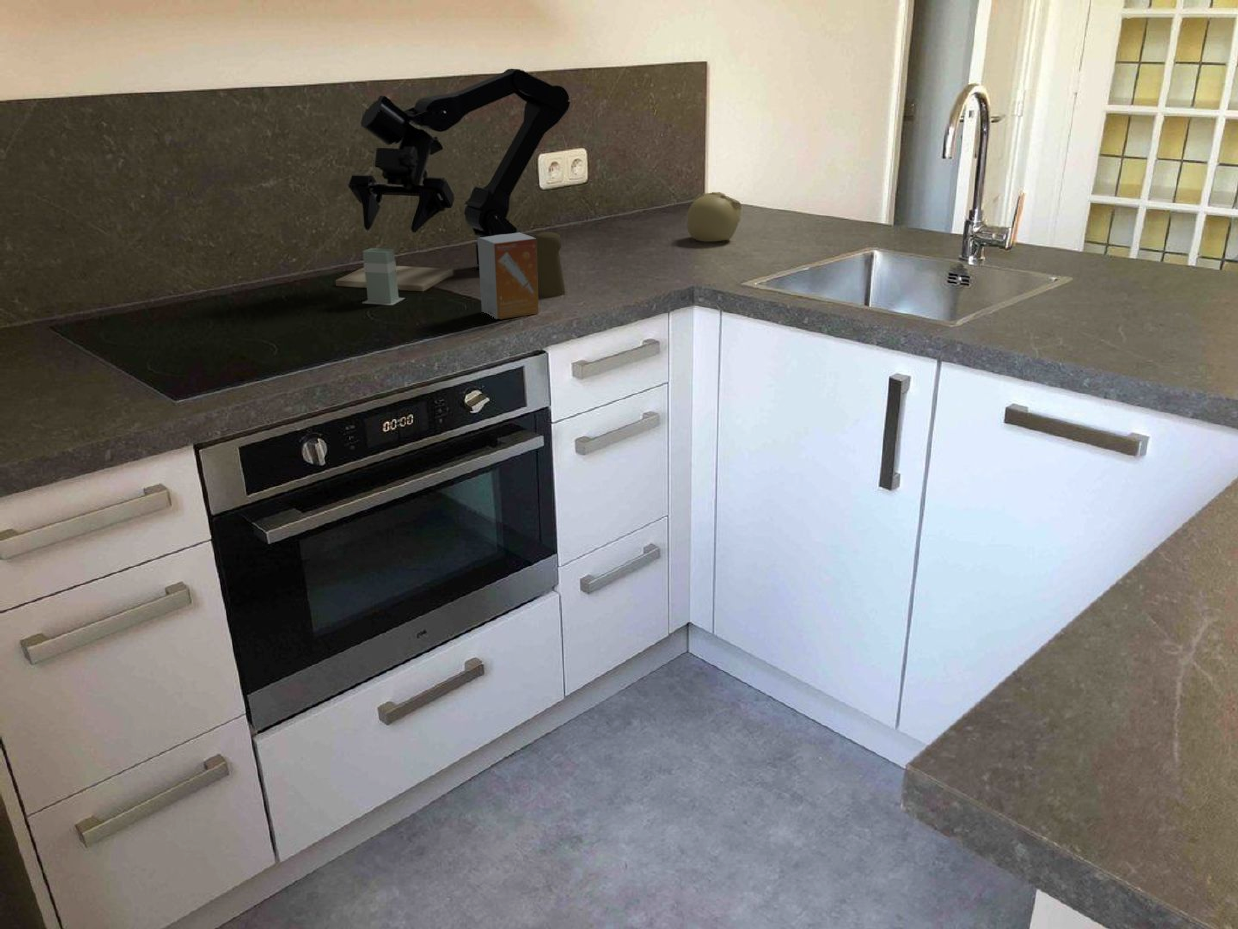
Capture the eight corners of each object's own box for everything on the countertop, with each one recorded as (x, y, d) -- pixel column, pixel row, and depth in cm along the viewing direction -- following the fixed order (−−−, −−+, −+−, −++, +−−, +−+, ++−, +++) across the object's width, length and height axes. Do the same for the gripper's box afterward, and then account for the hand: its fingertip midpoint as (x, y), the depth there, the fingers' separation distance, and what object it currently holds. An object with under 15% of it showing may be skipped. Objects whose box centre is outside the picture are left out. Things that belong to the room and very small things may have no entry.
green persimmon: (746, 238, 228) (748, 190, 224) (722, 247, 219) (724, 197, 215) (702, 233, 234) (703, 186, 230) (677, 242, 225) (678, 193, 220)
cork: (570, 290, 185) (568, 230, 180) (558, 298, 180) (556, 237, 175) (540, 287, 187) (538, 228, 182) (527, 295, 181) (524, 235, 177)
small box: (497, 321, 166) (493, 243, 161) (481, 312, 171) (476, 236, 165) (540, 313, 170) (537, 237, 165) (522, 305, 175) (518, 231, 169)
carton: (399, 298, 179) (394, 249, 175) (391, 303, 176) (386, 252, 172) (376, 297, 180) (370, 247, 176) (367, 301, 177) (362, 251, 173)
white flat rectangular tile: (405, 298, 179) (405, 297, 179) (392, 305, 175) (392, 304, 175) (375, 297, 181) (374, 295, 181) (361, 303, 176) (361, 302, 176)
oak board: (453, 275, 196) (452, 269, 196) (423, 292, 184) (422, 285, 184) (371, 270, 201) (370, 264, 200) (336, 286, 188) (335, 280, 188)
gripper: (347, 128, 178) (322, 200, 173) (442, 130, 173) (420, 204, 168) (372, 167, 188) (350, 237, 183) (463, 171, 183) (443, 242, 178)
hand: (389, 229), depth 178 cm, fingers open, 9 cm apart
